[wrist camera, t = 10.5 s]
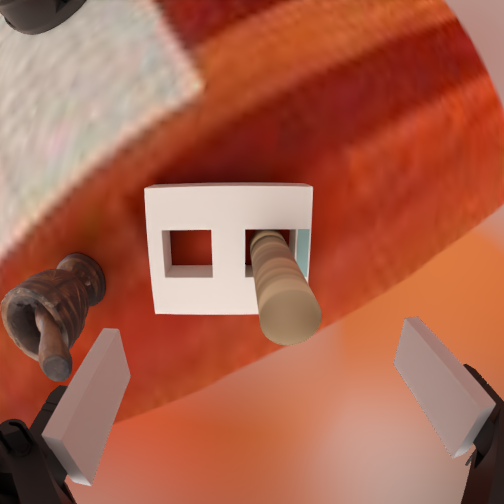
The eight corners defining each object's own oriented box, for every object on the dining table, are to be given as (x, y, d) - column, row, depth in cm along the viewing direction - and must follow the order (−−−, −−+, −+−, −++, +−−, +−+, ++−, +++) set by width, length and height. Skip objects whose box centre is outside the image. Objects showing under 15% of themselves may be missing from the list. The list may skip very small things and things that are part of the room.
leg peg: (249, 226, 37) (260, 291, 20) (284, 226, 37) (324, 289, 20) (249, 260, 38) (259, 346, 21) (283, 259, 38) (318, 343, 21)
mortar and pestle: (108, 225, 36) (8, 292, 17) (142, 286, 38) (78, 391, 19) (46, 264, 37) (-49, 336, 18) (78, 317, 39) (5, 411, 20)
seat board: (154, 184, 35) (144, 188, 31) (304, 183, 36) (313, 186, 32) (162, 298, 39) (155, 314, 35) (299, 297, 40) (305, 313, 36)
